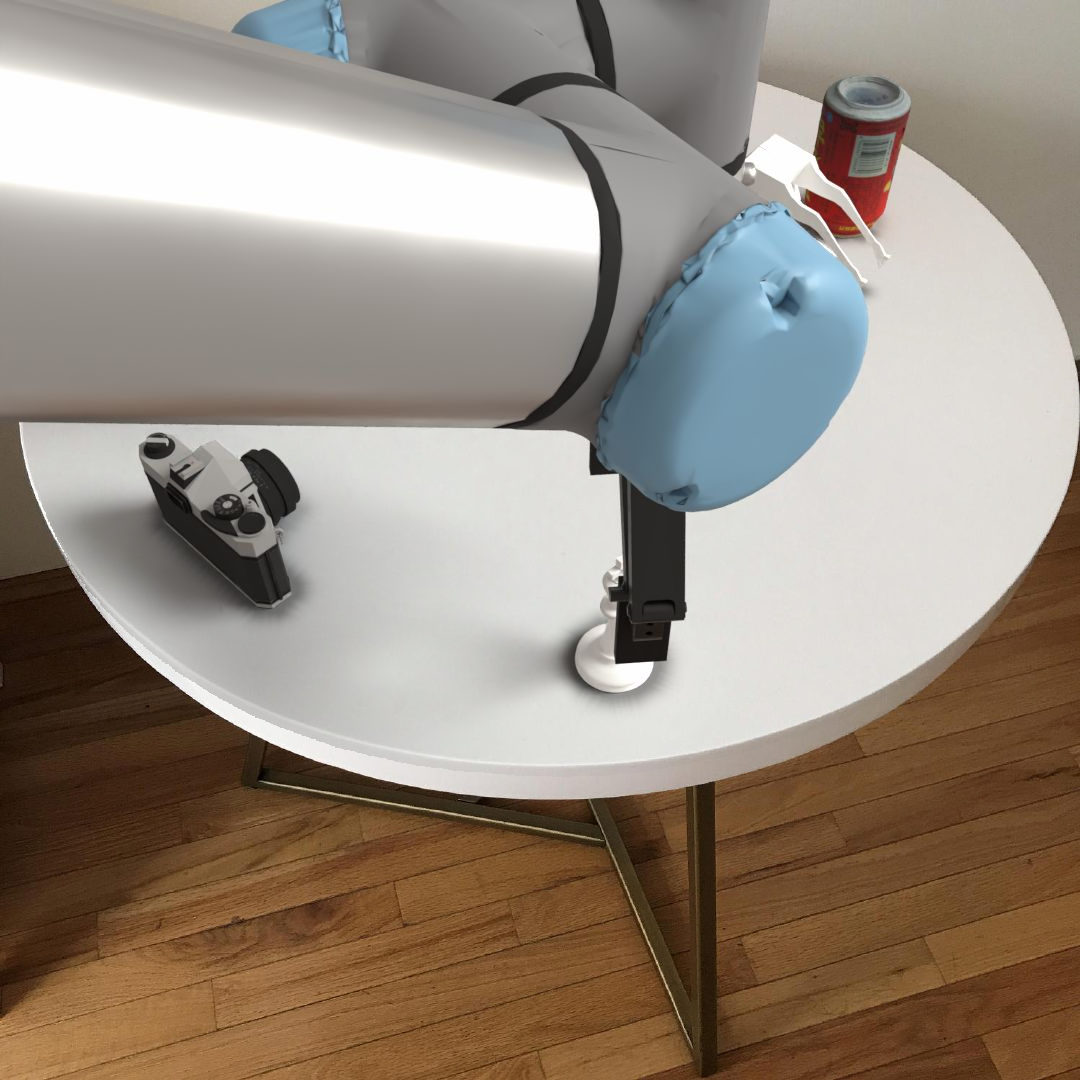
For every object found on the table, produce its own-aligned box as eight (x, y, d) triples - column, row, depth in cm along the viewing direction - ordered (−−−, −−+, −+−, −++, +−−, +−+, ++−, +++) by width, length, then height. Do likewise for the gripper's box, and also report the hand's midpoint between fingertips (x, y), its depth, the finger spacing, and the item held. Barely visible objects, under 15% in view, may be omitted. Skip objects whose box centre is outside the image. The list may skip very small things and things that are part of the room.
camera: (356, 553, 79) (332, 454, 72) (267, 622, 75) (233, 524, 68) (237, 472, 85) (205, 375, 78) (150, 532, 81) (108, 435, 75)
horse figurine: (805, 352, 105) (600, 174, 107) (909, 235, 91) (671, 32, 93) (778, 382, 102) (568, 199, 104) (880, 266, 88) (636, 56, 90)
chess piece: (558, 656, 73) (559, 555, 65) (615, 615, 75) (623, 512, 67) (612, 707, 70) (619, 608, 63) (669, 662, 73) (683, 561, 65)
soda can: (896, 232, 102) (931, 102, 93) (825, 249, 100) (853, 118, 91) (855, 190, 106) (884, 61, 97) (787, 206, 105) (809, 77, 96)
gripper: (796, 442, 41) (729, 746, 57) (689, 85, 57) (661, 401, 73) (585, 455, 41) (578, 756, 57) (537, 92, 57) (543, 408, 73)
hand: (625, 557), depth 65 cm, fingers open, 13 cm apart
